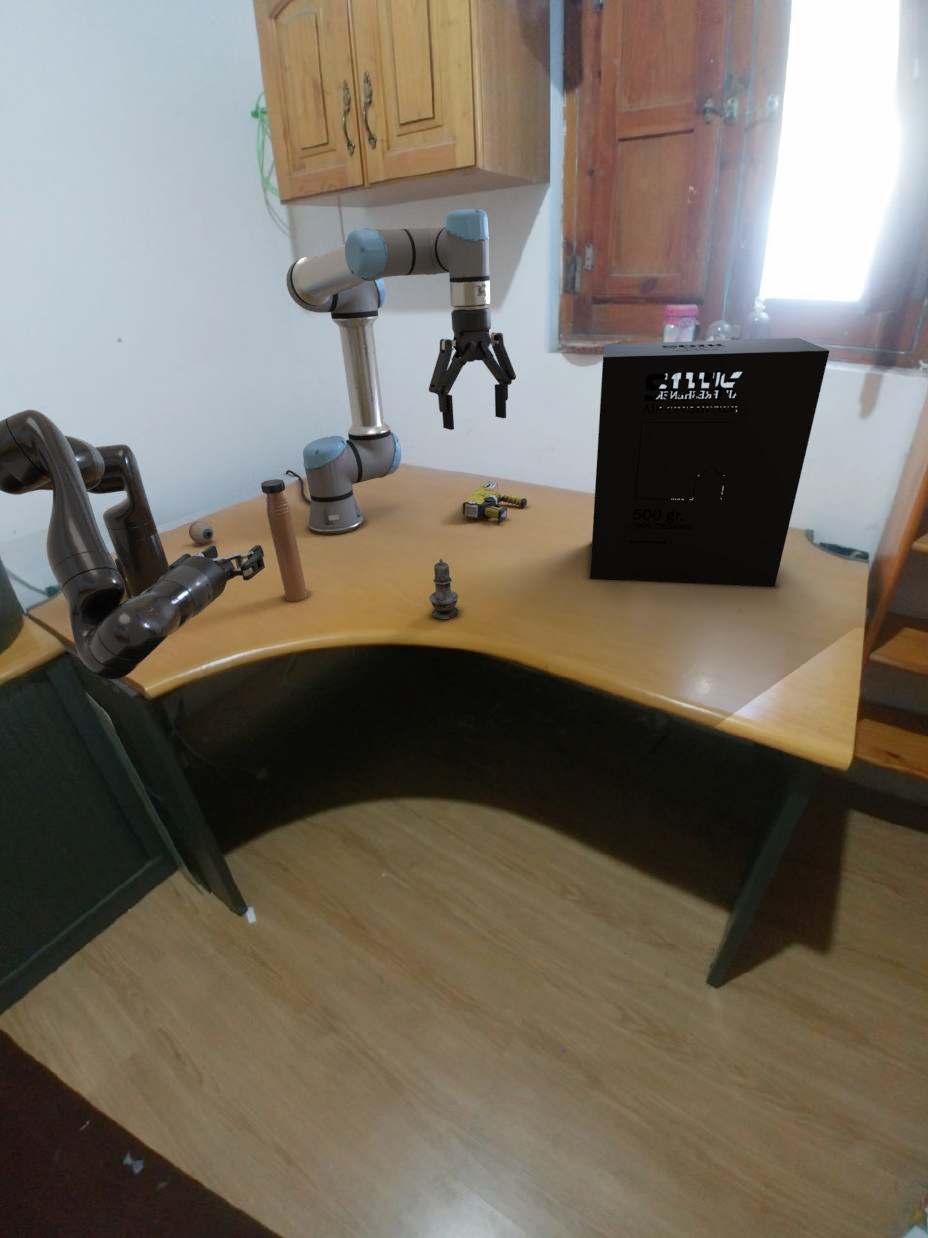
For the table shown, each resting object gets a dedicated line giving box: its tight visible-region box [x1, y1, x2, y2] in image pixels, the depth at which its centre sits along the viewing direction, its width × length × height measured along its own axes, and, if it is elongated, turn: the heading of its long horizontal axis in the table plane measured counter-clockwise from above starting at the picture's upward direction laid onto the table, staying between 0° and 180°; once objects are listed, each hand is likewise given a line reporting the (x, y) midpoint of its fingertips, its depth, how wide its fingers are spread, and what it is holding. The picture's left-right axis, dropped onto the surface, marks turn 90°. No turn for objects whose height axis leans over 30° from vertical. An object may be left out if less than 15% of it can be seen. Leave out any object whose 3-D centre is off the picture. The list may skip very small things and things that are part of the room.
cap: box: [260, 478, 286, 495], centre depth 120 cm, size 4×4×2 cm
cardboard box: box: [589, 337, 830, 587], centre depth 126 cm, size 38×20×45 cm, turn 78°
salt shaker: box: [428, 558, 459, 620], centre depth 120 cm, size 6×6×12 cm
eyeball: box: [188, 520, 214, 545], centre depth 161 cm, size 6×6×6 cm
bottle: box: [265, 491, 308, 602], centre depth 126 cm, size 5×5×25 cm
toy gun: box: [461, 480, 528, 523], centre depth 173 cm, size 5×24×15 cm
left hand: (237, 550), depth 107 cm, fingers open, 8 cm apart
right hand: (475, 422), depth 125 cm, fingers open, 13 cm apart
